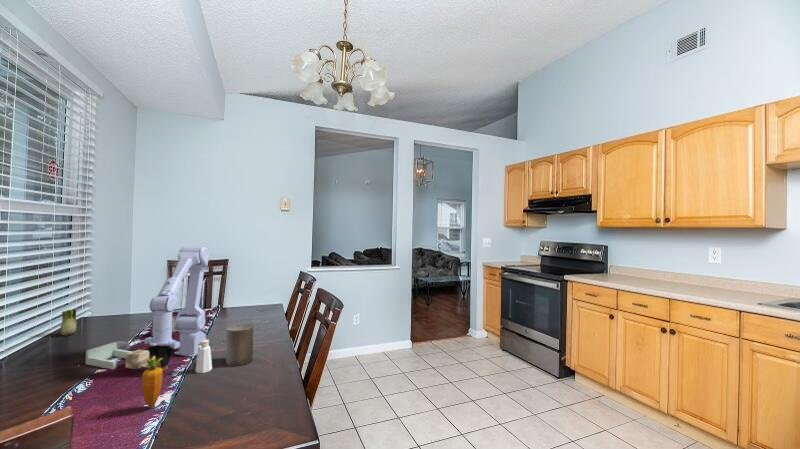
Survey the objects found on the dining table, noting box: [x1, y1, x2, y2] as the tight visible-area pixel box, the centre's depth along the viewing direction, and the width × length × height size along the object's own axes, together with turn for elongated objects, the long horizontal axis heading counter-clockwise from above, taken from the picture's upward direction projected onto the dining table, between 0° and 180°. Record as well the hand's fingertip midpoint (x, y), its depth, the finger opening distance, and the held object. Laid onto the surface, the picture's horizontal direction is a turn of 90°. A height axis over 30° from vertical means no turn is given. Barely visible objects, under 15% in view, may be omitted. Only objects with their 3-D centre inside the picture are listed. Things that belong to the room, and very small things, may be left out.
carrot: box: [141, 356, 163, 409], centre depth 98 cm, size 5×5×15 cm
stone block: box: [86, 340, 131, 351], centre depth 138 cm, size 12×5×10 cm
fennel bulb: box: [59, 308, 77, 337], centre depth 158 cm, size 6×5×12 cm
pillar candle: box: [225, 322, 254, 367], centre depth 133 cm, size 10×10×15 cm
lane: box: [85, 341, 134, 370], centre depth 130 cm, size 14×10×5 cm
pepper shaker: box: [194, 338, 213, 374], centre depth 124 cm, size 5×5×11 cm
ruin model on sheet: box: [150, 315, 178, 337], centre depth 164 cm, size 11×3×10 cm, turn 151°
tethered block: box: [125, 349, 169, 371], centre depth 125 cm, size 16×5×5 cm, turn 74°
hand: (161, 365), depth 123 cm, fingers closed on tethered block, 2 cm apart
